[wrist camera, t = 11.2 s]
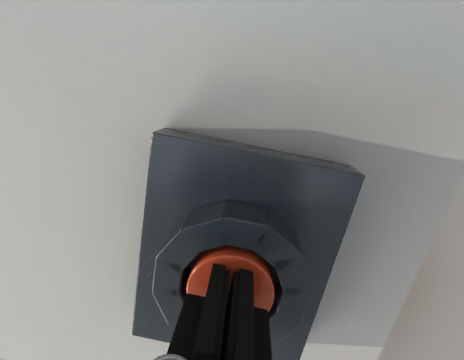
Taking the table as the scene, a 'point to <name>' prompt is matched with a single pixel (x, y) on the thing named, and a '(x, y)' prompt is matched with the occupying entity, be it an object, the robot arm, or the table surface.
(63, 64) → the table surface
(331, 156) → the table surface
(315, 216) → the box
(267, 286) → the release button
